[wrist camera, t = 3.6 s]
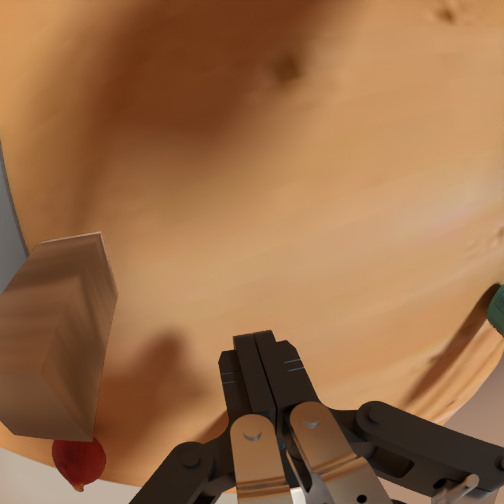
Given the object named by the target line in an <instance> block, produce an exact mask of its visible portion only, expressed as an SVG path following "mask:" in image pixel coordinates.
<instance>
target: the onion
mask: <svg viewBox="0 0 504 504" xmlns="http://www.w3.org/2000/svg"><path fill="white" fill-rule="evenodd" d="M52 457H53V461H54V463H55V465H56V467H57V469H58V471H59V472H60V473H61V474H62V475H63V477H64V478H65V479H67V480H68V482H69V483H70V484H71V485H72V486H73V487H74V489H75V490H77V491H79V492H83V491H84V489H83V486H84V485H86V484H89V483H91V482H94V481H95V480H97V479H98V478H99V477H100V476H101V474H102V472H103V470H104V468H105V464H106V454H105V452H104V450H103V448H102V446H101V444H100V443H99V442H98V440H97V439H96V438H95V437H94V436H93V442H85V441H67V440H54V442H53V446H52Z"/></svg>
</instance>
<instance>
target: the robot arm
mask: <svg viewBox="0 0 504 504" xmlns="http://www.w3.org/2000/svg"><path fill="white" fill-rule="evenodd" d="M233 344H234V350H229V351H223V352H222V353H221V356H220V359H219V362H218V364H219V369H220V375H221V380H222V386H223V391H224V396H225V401H226V406H227V411H228V416H229V424H228V427H227V429H226V430H225V432H224V433H223V434H222V435H221V436H219V437H218V438H216V439H214V440H212V441H209V442H207V443H205V444H201V443H198V442H184V443H181V444H179V445H177V446H176V447H175V448H174V449H173V450H172V451H171V452H170V454H169V455H168V456H167V457H166V459H165V460H164V461H163V462H162V464H161V465H160V466H159V467H158V469H157V470H156V471H155V472H154V474H153V475H152V476H151V477H150V479H149V480H148V481H147V482H146V483H145V485H144V486H143V487H142V488H141V490H140V491H139V492H138V493H137V494H136V496H135V497H134V498H133V499H132V500H131V502H130V503H129V504H215V503H216V501H217V500H218V498H219V497H220V495H221V494H222V492H224V491H226V490H229V489H231V488H233V487H235V486H237V497H238V504H293V499H292V495H291V491H290V488H289V485H288V482H287V481H286V479H285V475H284V471H283V466H282V462H281V457H280V453H279V448H278V444H277V439H280V438H284V441H285V444H286V447H287V448H286V455H287V457H288V460H289V462H290V464H291V467H292V469H293V471H294V473H295V476H296V478H297V480H298V482H299V485H300V487H301V489H302V491H303V494H304V496H305V502H306V504H406V503H404V502H401V501H398V500H394V499H390V498H389V496H388V494H387V493H386V491H385V489H384V488H383V486H382V484H381V482H380V481H379V479H378V477H381V478H383V479H385V480H388V481H390V482H392V483H395V484H397V485H400V486H403V487H405V488H407V489H410V490H412V491H415V492H418V493H420V494H423V495H426V496H429V497H432V499H431V504H494V502H495V499H496V496H497V493H498V490H499V488H500V487H501V486H503V485H504V448H503V447H500V446H497V445H494V444H491V443H488V442H485V441H482V440H479V439H476V438H473V437H470V436H467V435H464V434H462V433H459V432H456V431H453V430H450V429H448V428H445V427H443V426H440V425H437V424H435V423H432V422H430V421H427V420H425V419H422V418H420V417H417V416H415V415H412V414H410V413H407V412H405V411H403V410H400V409H398V408H395V407H393V406H391V405H388V404H386V403H384V402H380V401H370V402H367V403H365V404H363V405H362V406H361V407H360V408H359V409H358V410H334V409H331V408H329V407H327V406H325V405H324V404H323V403H321V401H320V400H319V399H318V397H317V395H316V392H315V390H314V388H313V386H312V383H311V381H310V379H309V377H308V375H307V372H306V370H305V369H304V366H303V363H302V361H301V360H300V357H299V355H298V352H297V350H296V348H295V347H294V346H293V345H291V344H290V343H289V342H288V341H287V340H284V341H279V342H276V340H275V338H274V335H273V333H272V331H271V330H266V331H261V332H255V333H252V334H251V333H250V334H244V335H238V336H233ZM377 476H378V477H377Z"/></svg>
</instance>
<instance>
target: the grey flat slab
mask: <svg viewBox="0 0 504 504" xmlns="http://www.w3.org/2000/svg"><path fill="white" fill-rule="evenodd" d="M28 256H29V254H28V251H27V248H26V245H25V242H24V239H23V236H22V233H21V230H20V226H19V223H18V220H17V216H16V212H15V209H14V205H13V201H12V197H11V193H10V189H9V185H8V180H7V175H6V171H5V166H4V160H3V155H2V149H1V142H0V296H1V294H2V293H3V291H4V290H5V288H6V287H7V285H8V284H9V282H10V281H11V280H12V278H13V277H14V275H15V274H16V273H17V271H18V270H19V268H20V267H21V266H22V264H23V263H24V262H25V260H26V259H27V258H28Z"/></svg>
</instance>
